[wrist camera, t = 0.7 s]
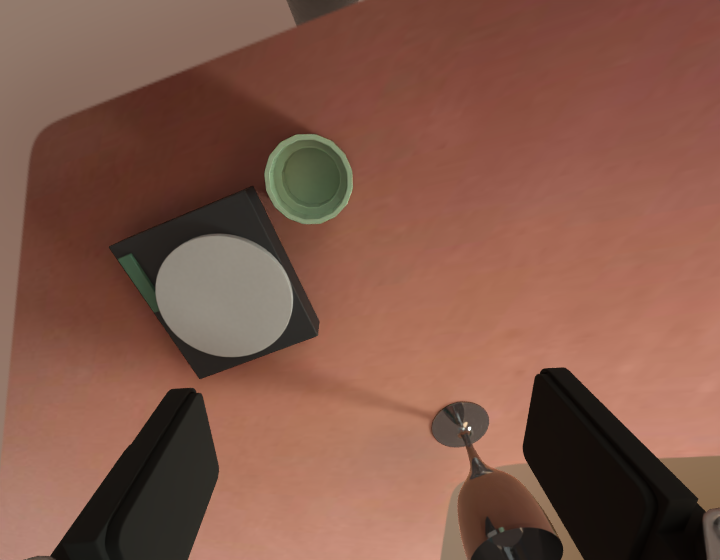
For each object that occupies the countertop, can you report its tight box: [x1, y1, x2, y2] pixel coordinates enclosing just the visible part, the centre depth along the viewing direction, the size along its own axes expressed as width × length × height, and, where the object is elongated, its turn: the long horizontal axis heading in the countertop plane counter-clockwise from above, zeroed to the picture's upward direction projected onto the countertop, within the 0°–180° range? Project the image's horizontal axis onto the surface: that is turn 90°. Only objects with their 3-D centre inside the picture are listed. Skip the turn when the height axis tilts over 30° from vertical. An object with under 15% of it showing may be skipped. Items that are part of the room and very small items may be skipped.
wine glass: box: [432, 402, 563, 560], centre depth 37 cm, size 8×8×15 cm
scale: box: [109, 186, 319, 379], centre depth 34 cm, size 15×13×4 cm
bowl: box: [264, 134, 353, 224], centre depth 30 cm, size 7×7×5 cm
